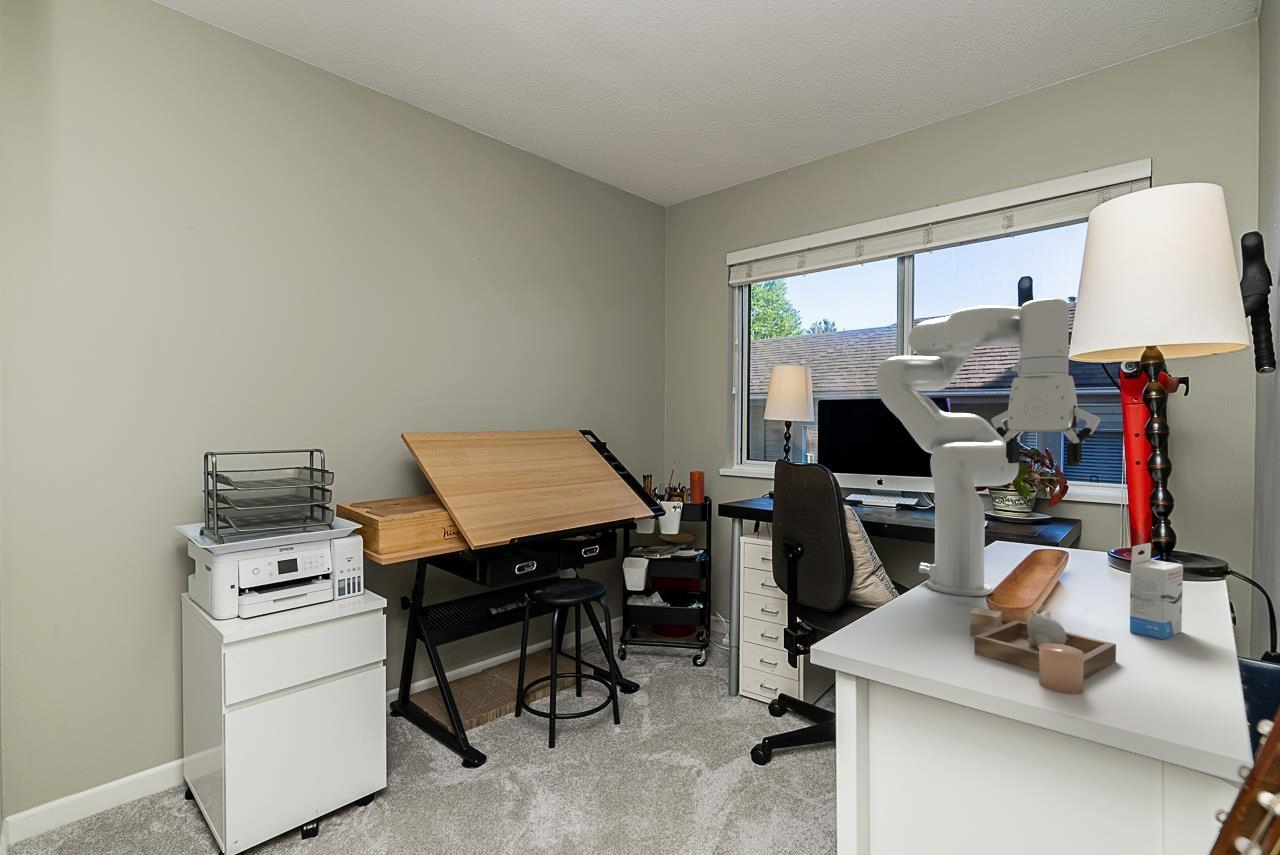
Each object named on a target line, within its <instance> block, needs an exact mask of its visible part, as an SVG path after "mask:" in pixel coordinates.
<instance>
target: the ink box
mask: <svg viewBox="0 0 1280 855" xmlns="http://www.w3.org/2000/svg"><path fill="white" fill-rule="evenodd" d="M1141 551H1142V552H1143V553H1142V554H1139V552H1141ZM1151 552H1152V543H1151V542H1148V543H1141V544H1138V545H1134V546H1132V547H1131V560H1130V561H1131V562H1130V563H1131V564H1130V592H1129V593H1130V595H1129V596H1130V597H1129V632H1130V633H1133V634H1138V635H1141V636H1146V637H1149V638H1154V639H1159V640H1166V639H1168V638H1171V637H1173V636H1174V635H1177V634H1179V633H1181V632H1182V629H1183V628H1182V624H1183V622H1182V621H1183V580H1184V578H1183V577H1184V565H1183V564H1182V563H1176V562H1170V561H1168V562H1167V561H1162V560H1155V559H1151V555H1152V554H1151Z"/></svg>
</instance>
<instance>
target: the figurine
mask: <svg viewBox="0 0 1280 855" xmlns="http://www.w3.org/2000/svg"><path fill="white" fill-rule="evenodd" d="M1030 613H1031V614H1030V615H1028V617H1027V619H1026V623H1027V630H1028V634H1029V638H1028V643H1029V645H1031V646H1033V647H1039V645H1041V644H1045V643H1053V644H1061V645H1064V644H1065V642H1066V640H1069V639H1066V638H1068V637H1066V634H1065V632H1066V631H1065V628H1064V627H1063V626H1062V625H1061V624H1060V623H1059V622H1058V621H1057V620H1055V619H1053V618H1052V616H1051V613H1052V611H1048V610H1043V611H1042V612H1040V613H1037V612H1035V611H1034V610H1031V612H1030Z"/></svg>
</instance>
